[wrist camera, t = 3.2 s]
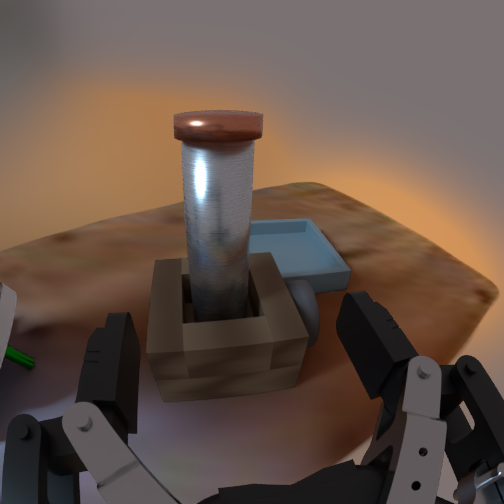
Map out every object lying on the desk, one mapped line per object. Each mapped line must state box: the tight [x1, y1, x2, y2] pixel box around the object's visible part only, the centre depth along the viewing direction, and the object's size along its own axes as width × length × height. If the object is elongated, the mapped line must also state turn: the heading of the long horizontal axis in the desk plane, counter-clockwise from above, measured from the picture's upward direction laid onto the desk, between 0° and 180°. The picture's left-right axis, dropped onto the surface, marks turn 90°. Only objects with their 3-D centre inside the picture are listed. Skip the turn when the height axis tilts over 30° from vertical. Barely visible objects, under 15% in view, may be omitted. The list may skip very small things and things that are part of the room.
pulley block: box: [146, 252, 319, 402], centre depth 23 cm, size 12×10×6 cm
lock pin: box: [174, 110, 263, 323], centre depth 19 cm, size 5×5×15 cm
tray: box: [250, 218, 351, 293], centre depth 35 cm, size 13×13×2 cm
